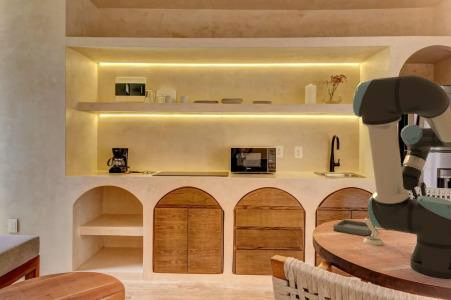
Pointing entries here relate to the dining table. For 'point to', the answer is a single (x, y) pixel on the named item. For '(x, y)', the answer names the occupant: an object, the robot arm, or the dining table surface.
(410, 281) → the dining table surface
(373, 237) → the white vr controller
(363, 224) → the tray
